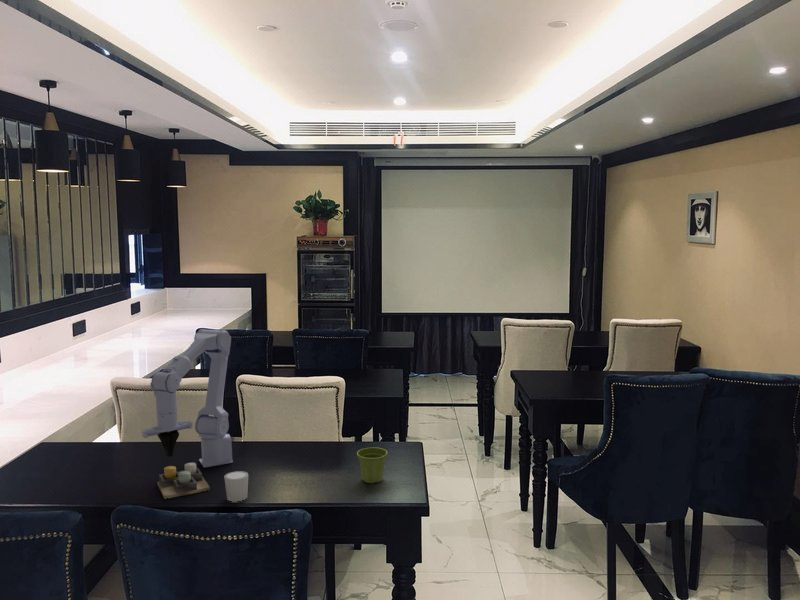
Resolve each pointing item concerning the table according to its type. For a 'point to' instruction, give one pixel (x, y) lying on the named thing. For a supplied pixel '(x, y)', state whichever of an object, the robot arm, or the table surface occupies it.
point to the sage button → (184, 477)
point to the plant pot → (372, 463)
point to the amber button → (170, 472)
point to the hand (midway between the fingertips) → (169, 455)
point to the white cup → (236, 485)
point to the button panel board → (174, 489)
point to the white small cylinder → (191, 468)
